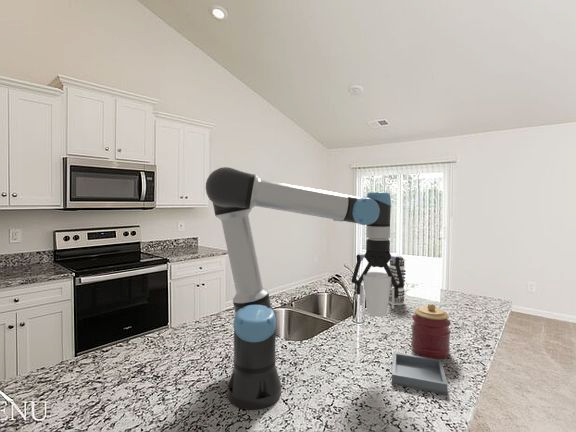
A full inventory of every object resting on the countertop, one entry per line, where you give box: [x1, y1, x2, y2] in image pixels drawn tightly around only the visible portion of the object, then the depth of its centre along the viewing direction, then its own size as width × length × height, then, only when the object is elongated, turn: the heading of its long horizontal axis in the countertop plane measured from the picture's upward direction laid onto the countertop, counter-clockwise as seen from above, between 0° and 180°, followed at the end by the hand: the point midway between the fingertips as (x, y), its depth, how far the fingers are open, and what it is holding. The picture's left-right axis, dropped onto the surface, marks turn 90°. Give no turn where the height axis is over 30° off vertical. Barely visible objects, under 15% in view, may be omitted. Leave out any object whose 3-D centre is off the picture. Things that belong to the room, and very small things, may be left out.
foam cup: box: [362, 271, 392, 318], centre depth 107 cm, size 10×9×13 cm
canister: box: [410, 303, 452, 360], centre depth 118 cm, size 13×13×18 cm
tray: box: [391, 352, 448, 396], centre depth 101 cm, size 15×15×3 cm
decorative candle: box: [388, 255, 406, 306], centre depth 174 cm, size 9×9×25 cm
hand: (376, 305), depth 108 cm, fingers closed on foam cup, 9 cm apart
